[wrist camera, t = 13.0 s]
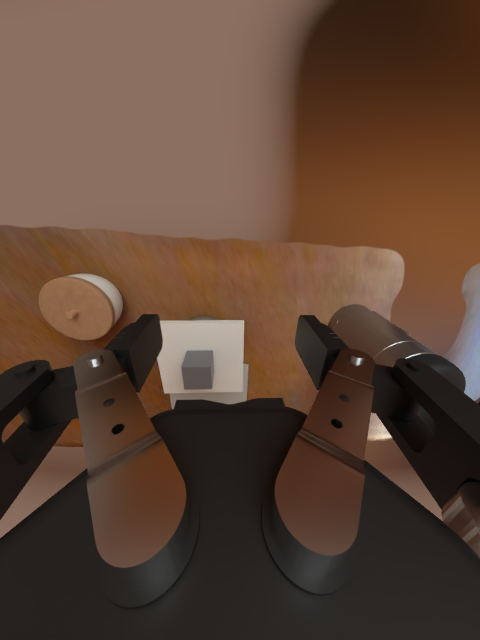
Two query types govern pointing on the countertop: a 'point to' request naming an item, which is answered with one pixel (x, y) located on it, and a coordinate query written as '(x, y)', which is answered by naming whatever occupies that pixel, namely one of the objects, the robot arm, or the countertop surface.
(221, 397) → the mat
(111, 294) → the lidded jar
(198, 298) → the countertop surface
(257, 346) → the countertop surface
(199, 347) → the lid
